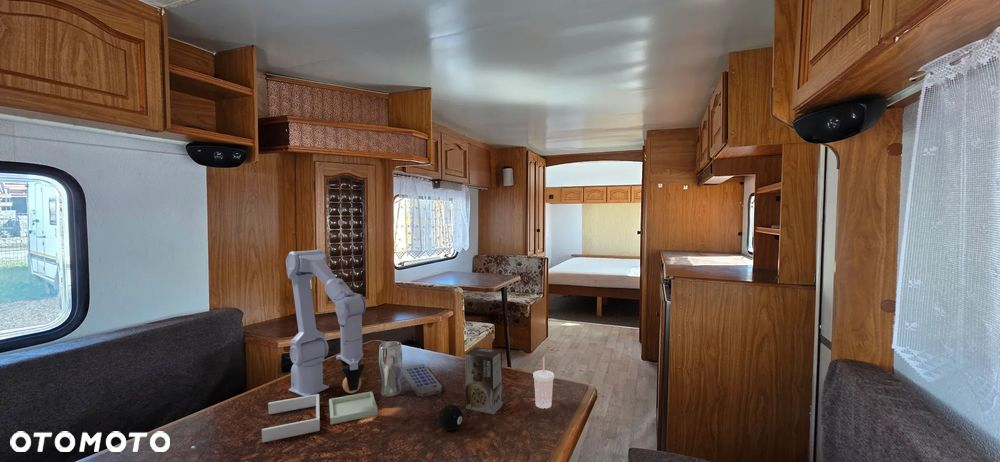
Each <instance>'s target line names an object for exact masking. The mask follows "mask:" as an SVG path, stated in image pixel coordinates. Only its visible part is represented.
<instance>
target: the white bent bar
mask: <svg viewBox="0 0 1000 462" xmlns="http://www.w3.org/2000/svg"><path fill="white" fill-rule="evenodd" d="M267 407H268V415H273V414H279V413H285V412H291V411H294V410H296V411H297V410H300V409H307V408H311V407H315V418H311V419H307V420H306V419H305V420H302V421H296V422H292V423H290V422H289V423H286V424H285V423H284V424H280V425H276V426H270V427H266V428H261V443H262V444H263V443H266V442H267V443H268V442H271V441H276V440H282V439H285V438H290V437H291V438H292V437H296V436H301V435H304V434H305V435H306V434H309V433H315V432H319V431H320V429H321V427H320V426H321V423H320V422H321V420H320V414H321V413H320V394H319V393H316V394H313V395H310V396H299V397H294V398H288V399H282V400H276V401H270V402H268V403H267Z"/></svg>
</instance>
